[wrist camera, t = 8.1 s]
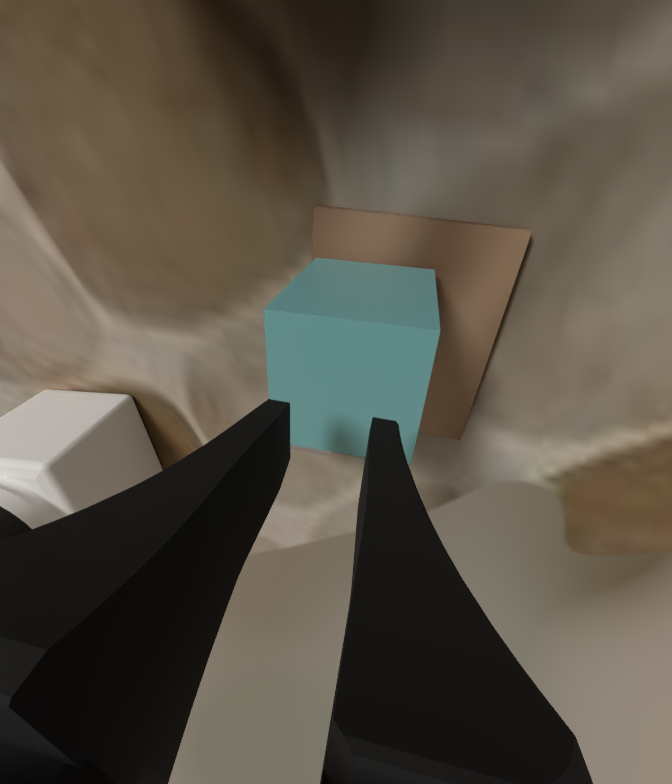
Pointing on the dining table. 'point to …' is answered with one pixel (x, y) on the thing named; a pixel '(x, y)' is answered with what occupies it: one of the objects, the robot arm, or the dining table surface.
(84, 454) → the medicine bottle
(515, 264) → the tan flat board
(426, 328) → the teal rectangular block
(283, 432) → the robot arm
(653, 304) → the dining table surface
